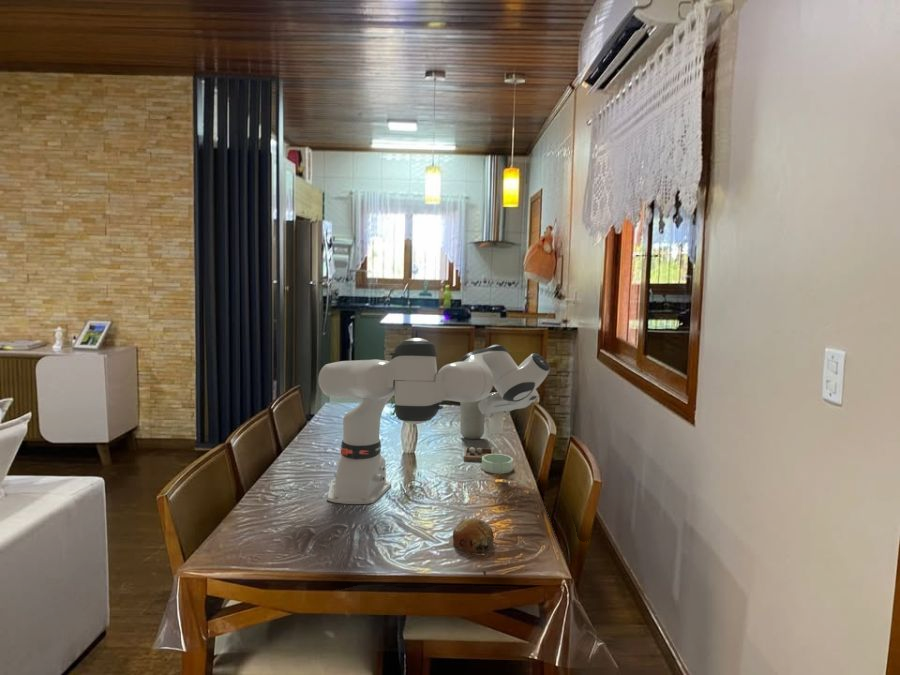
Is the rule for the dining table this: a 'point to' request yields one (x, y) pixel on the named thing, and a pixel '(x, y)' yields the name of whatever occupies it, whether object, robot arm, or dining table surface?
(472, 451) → the pebble
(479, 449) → the pebble
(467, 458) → the pebble tray
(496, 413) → the jar
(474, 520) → the bread roll
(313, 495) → the dining table surface
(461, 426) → the grey bottle
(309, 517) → the dining table surface
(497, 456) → the bowl
